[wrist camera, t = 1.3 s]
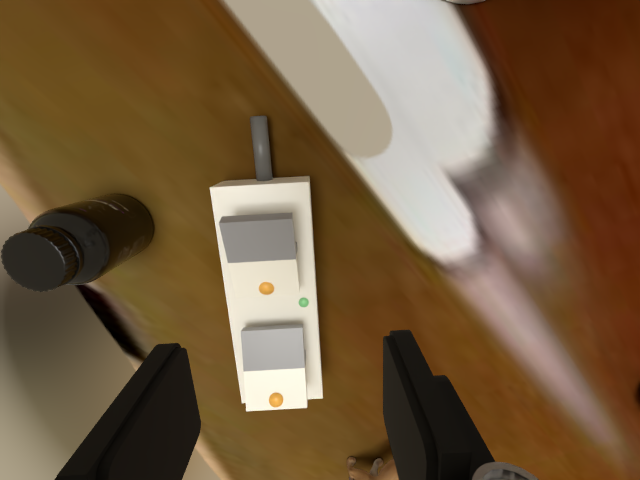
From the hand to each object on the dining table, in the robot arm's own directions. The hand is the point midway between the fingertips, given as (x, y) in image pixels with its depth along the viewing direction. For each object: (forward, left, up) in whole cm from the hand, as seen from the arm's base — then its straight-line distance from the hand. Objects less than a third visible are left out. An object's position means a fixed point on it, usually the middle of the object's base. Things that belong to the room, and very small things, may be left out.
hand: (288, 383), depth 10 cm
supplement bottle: (+20, +1, -28) cm, 34 cm away
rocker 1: (+4, +3, -21) cm, 22 cm away
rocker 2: (+4, +15, -21) cm, 26 cm away
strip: (+4, +6, -28) cm, 28 cm away
